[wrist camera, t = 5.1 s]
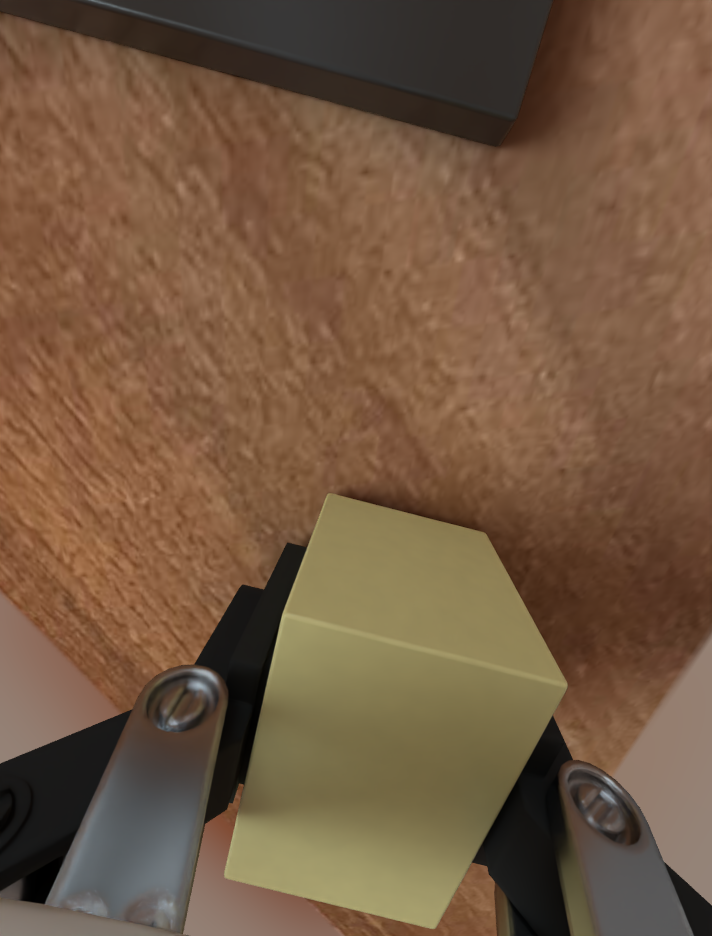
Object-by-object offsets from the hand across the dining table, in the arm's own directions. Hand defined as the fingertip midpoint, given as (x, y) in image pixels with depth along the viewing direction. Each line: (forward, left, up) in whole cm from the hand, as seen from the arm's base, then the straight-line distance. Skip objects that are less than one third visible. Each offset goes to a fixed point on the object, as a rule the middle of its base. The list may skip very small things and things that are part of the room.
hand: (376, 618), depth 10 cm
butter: (0, 0, 0) cm, 0 cm away
